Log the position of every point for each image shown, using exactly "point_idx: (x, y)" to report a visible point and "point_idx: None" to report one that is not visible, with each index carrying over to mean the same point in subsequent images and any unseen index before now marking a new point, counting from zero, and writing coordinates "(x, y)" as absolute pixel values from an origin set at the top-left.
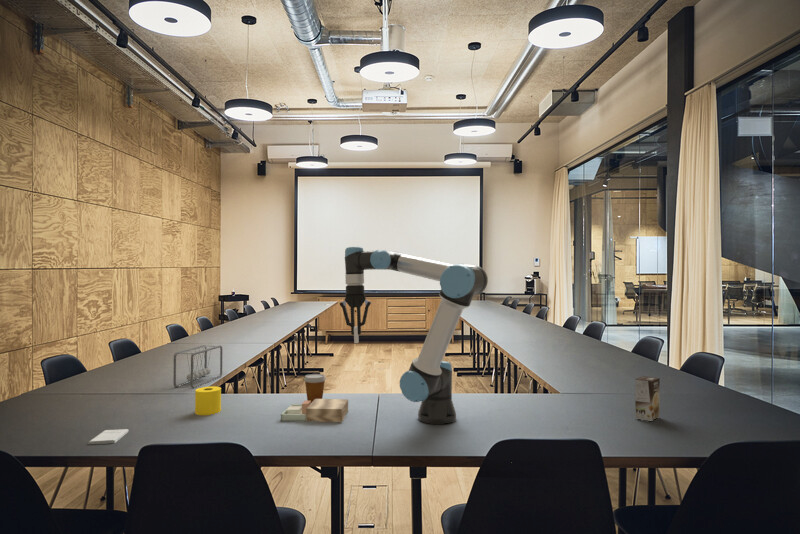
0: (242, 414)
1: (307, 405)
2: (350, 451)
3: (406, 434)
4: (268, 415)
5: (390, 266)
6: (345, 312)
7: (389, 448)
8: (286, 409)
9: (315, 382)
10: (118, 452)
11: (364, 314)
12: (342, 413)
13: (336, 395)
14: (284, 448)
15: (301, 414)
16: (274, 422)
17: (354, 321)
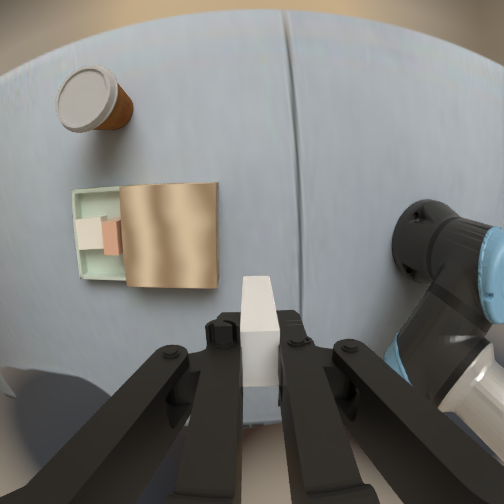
0: (12, 233)
1: (119, 253)
2: (264, 413)
3: (358, 339)
4: (51, 235)
5: None
6: (124, 495)
7: None
8: (75, 238)
9: (93, 128)
10: (2, 387)
11: (385, 464)
12: (217, 275)
13: (163, 32)
14: None
15: (120, 277)
16: (80, 284)
17: (239, 372)
